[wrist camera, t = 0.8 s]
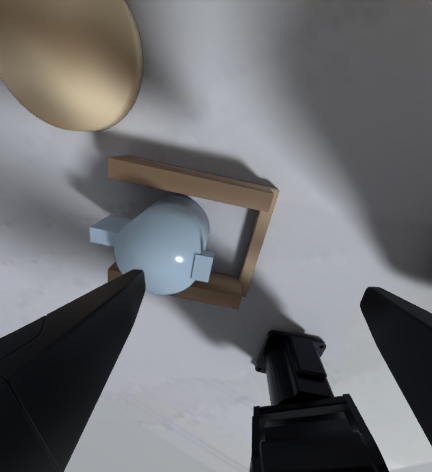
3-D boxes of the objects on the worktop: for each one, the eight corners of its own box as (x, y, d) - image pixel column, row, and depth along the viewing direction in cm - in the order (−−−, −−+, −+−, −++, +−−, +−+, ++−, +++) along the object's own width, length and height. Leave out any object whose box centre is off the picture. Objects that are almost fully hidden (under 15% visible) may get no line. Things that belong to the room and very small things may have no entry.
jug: (210, 262, 21) (202, 304, 16) (119, 243, 21) (79, 279, 16) (223, 205, 19) (219, 230, 13) (120, 183, 19) (74, 199, 13)
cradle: (244, 290, 22) (246, 311, 20) (123, 265, 22) (107, 282, 19) (277, 188, 18) (285, 196, 15) (126, 155, 18) (107, 157, 15)
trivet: (139, 143, 17) (131, 143, 16) (16, 116, 17) (-3, 114, 16) (148, -28, 13) (138, -47, 12) (-12, -65, 13) (-41, -89, 12)
